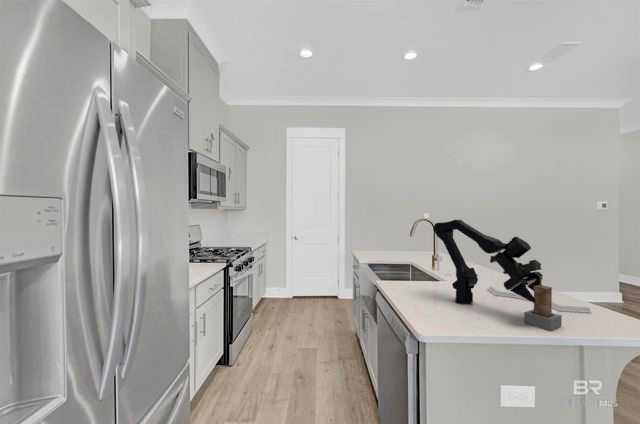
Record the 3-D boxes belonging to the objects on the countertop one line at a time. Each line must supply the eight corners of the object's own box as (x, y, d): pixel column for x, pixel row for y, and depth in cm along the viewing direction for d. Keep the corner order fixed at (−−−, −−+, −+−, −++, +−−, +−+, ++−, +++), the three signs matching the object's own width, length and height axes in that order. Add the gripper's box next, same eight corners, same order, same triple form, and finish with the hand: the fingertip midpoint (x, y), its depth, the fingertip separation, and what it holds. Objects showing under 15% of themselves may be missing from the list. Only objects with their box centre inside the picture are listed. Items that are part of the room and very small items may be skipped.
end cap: (524, 323, 110) (524, 312, 110) (535, 319, 114) (535, 308, 114) (550, 331, 103) (550, 319, 103) (561, 326, 107) (561, 315, 107)
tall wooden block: (533, 321, 109) (533, 286, 109) (538, 319, 111) (539, 284, 111) (546, 324, 106) (546, 288, 106) (551, 322, 108) (551, 287, 108)
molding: (594, 313, 122) (594, 306, 122) (583, 319, 116) (583, 311, 116) (491, 290, 158) (491, 284, 159) (478, 293, 152) (478, 287, 152)
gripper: (512, 254, 109) (547, 292, 99) (537, 251, 118) (571, 285, 109) (490, 272, 115) (521, 308, 106) (515, 267, 125) (545, 300, 116)
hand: (540, 300), depth 109 cm, fingers open, 9 cm apart
